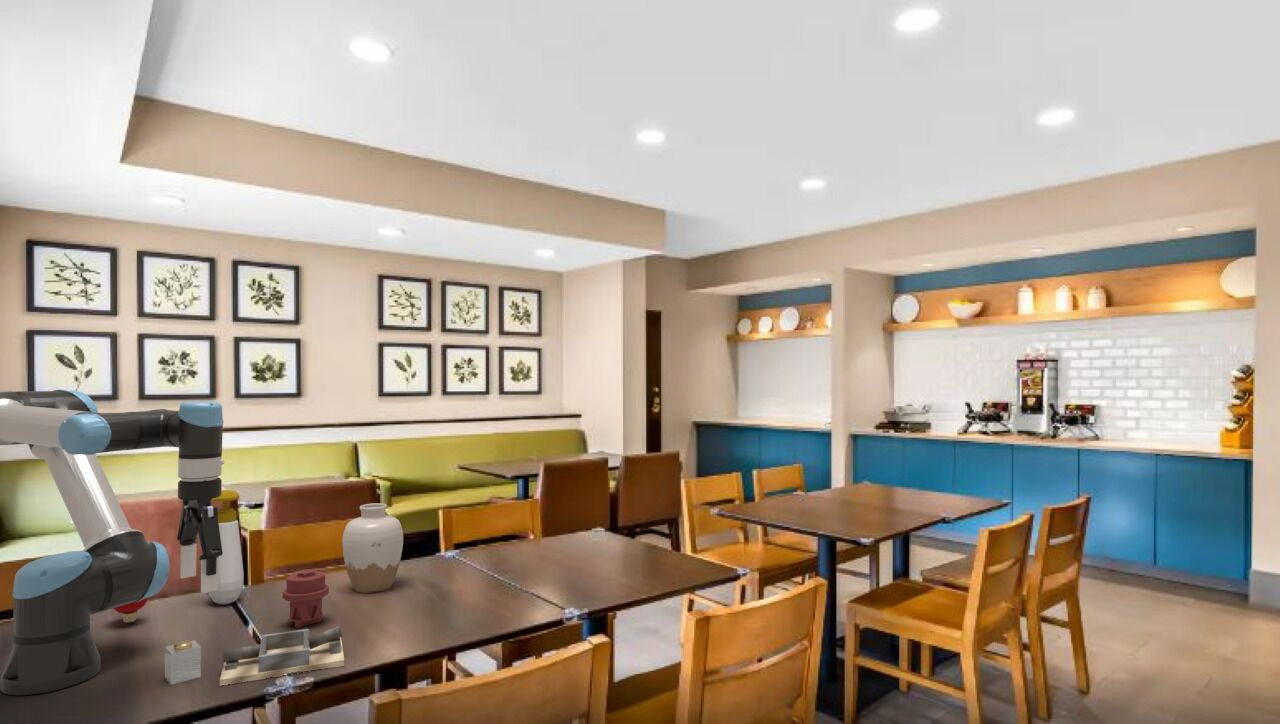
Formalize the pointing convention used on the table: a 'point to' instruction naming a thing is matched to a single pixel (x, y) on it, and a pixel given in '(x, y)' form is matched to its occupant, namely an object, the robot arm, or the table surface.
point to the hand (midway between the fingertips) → (198, 583)
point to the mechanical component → (305, 596)
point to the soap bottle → (228, 553)
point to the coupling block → (182, 661)
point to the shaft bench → (283, 655)
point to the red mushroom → (131, 610)
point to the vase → (372, 549)
